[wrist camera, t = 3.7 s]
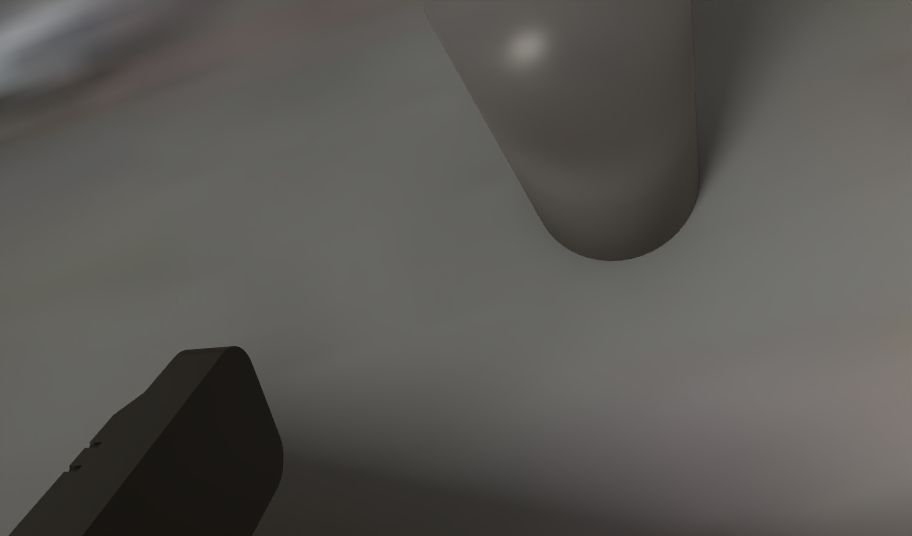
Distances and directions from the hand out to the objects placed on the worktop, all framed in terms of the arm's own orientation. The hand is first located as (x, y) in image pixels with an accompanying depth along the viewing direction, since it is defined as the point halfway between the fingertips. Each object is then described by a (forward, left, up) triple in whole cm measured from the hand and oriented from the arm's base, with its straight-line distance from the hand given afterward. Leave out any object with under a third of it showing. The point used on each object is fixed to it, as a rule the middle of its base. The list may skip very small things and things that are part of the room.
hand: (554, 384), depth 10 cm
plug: (-5, +5, -11) cm, 13 cm away
